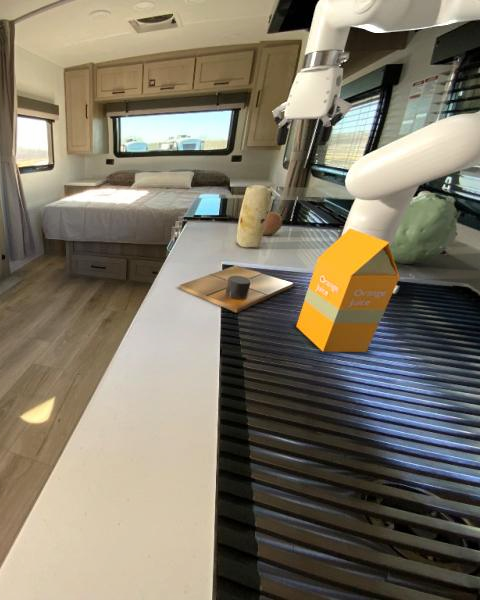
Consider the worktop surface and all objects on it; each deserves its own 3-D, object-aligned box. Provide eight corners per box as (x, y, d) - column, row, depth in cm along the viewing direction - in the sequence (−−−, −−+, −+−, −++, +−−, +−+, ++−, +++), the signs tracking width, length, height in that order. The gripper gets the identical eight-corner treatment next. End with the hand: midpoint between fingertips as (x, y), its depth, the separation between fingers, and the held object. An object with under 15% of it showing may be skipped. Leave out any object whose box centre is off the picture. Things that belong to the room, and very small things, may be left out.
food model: (265, 248, 113) (279, 186, 104) (251, 250, 110) (265, 188, 101) (241, 240, 121) (253, 183, 112) (228, 243, 118) (239, 184, 109)
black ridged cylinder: (251, 296, 77) (255, 280, 75) (239, 301, 75) (243, 285, 73) (233, 289, 80) (236, 274, 79) (220, 294, 78) (223, 278, 76)
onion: (253, 242, 129) (245, 218, 126) (264, 231, 133) (257, 208, 130) (278, 238, 121) (271, 213, 118) (289, 227, 125) (282, 202, 123)
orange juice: (334, 326, 66) (372, 228, 58) (367, 352, 58) (416, 242, 50) (294, 326, 67) (326, 228, 58) (322, 351, 59) (362, 242, 50)
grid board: (292, 286, 84) (293, 282, 83) (236, 312, 72) (237, 308, 72) (235, 268, 96) (236, 265, 95) (179, 288, 84) (179, 284, 84)
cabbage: (365, 264, 97) (393, 194, 88) (373, 250, 109) (398, 186, 100) (440, 278, 87) (479, 200, 78) (439, 260, 99) (473, 191, 90)
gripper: (372, 58, 72) (345, 145, 79) (290, 71, 85) (274, 144, 92) (358, 54, 68) (331, 146, 76) (274, 68, 81) (259, 145, 89)
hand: (300, 145), depth 84 cm, fingers open, 9 cm apart
